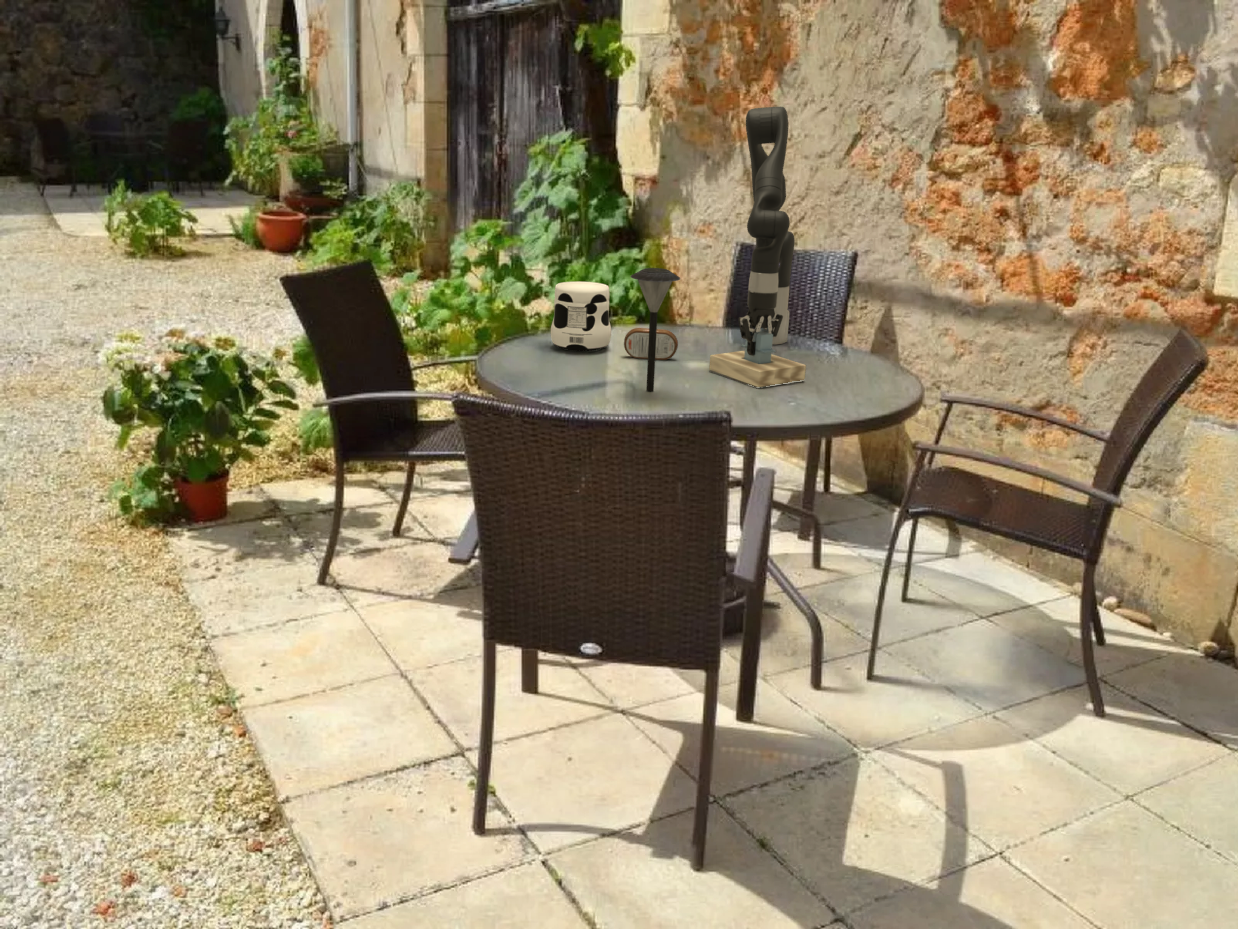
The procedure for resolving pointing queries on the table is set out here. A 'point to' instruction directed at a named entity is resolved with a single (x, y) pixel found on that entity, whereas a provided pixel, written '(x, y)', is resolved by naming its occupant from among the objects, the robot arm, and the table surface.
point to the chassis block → (756, 369)
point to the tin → (639, 341)
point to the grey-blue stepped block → (761, 348)
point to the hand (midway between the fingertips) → (757, 353)
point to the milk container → (581, 316)
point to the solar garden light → (653, 308)
